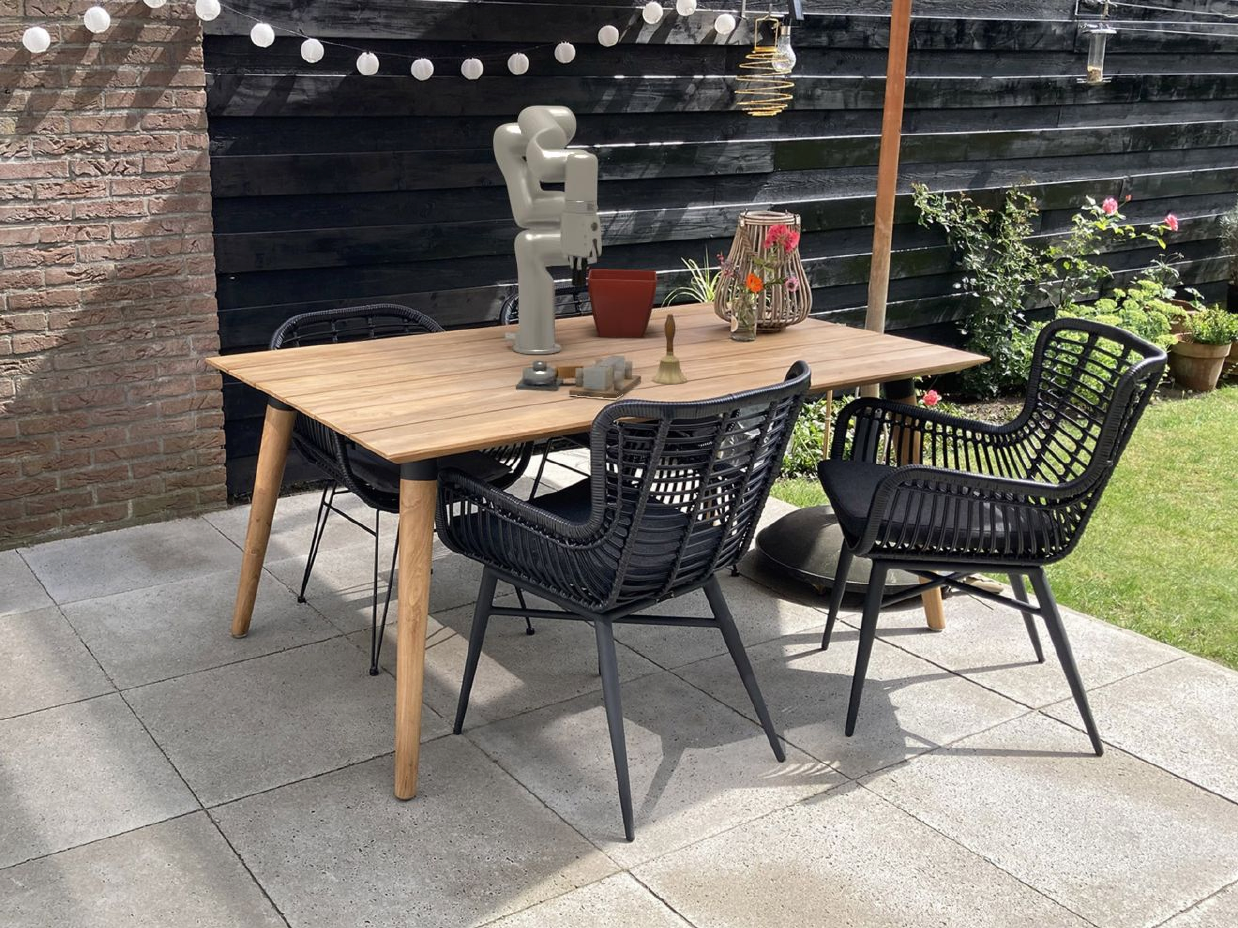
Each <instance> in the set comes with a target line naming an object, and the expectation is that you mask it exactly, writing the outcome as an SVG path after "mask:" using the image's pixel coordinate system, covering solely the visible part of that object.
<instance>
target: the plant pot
mask: <svg viewBox="0 0 1238 928" xmlns="http://www.w3.org/2000/svg"><path fill="white" fill-rule="evenodd" d="M657 284H658V278H657V271H656V270H638V269H637V270H635V269H632V270H631V269H601V268H600V269H599V268H598V269H596V268H595V269H589V273H588V277H587V289H588V290H587V291H588V294H589V295H588V296H589V303H590V307H591V314H592V319H593V322H594V326H595V329H596V332H597V335H598V337H599V338H631V339H632V338H634V339H636V338H637V339H638V338H640V339H641V338H644V337H645V335H646V332H647V329H648V326H649V322H650V319H651V315H652V312H653V307H654V302H655V297H656V293H657Z"/></svg>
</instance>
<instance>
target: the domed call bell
mask: <svg viewBox="0 0 1238 928" xmlns="http://www.w3.org/2000/svg"><path fill="white" fill-rule="evenodd" d="M576 368H583V369H584V365H583V364H582V363H579V362H578V363H555V367H552V366H548V363H547V361H545V360H536V361H535V360H534V361H532V366H528V367H524V368H523V369H522V378H523V382H525V383H530V384H550V383H555V382H556V381H557V378H558V379H563V380H564V379H576Z"/></svg>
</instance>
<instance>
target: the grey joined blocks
mask: <svg viewBox="0 0 1238 928" xmlns="http://www.w3.org/2000/svg"><path fill="white" fill-rule="evenodd" d="M625 359H626V356H625V355H617V354H616V355H614V354H612V355H610V356H608V357H607V358H605V359H603V361H602V362H600V363H599V364H597V365H594V364H592V365H590V366H588V367H586V368H585V369H584V375H583V381H584V389H585V390H596V391H606V390H608V389H609V388H610V387H612V386H613V382H614V372H615V371H621V372H622V376H623V375H624V374H625Z"/></svg>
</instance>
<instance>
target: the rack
mask: <svg viewBox="0 0 1238 928" xmlns="http://www.w3.org/2000/svg"><path fill="white" fill-rule="evenodd" d="M603 360H604V358H596V359H595V365H597V364H599V363H600V362H602V361H603ZM584 370H585V369H584V367H583V368H576V378H575V383H576V384H575V385H574V386H573V387H572V388H570V389H569V391H568V396H569V395H577V396H589V397H603V398H617V397H619V396H621V395H622V394H624V393H625V394H626V393H628V392H629V391H631V390H632V389H633V388H634V386H635V387H636V386H637V385H639V384H640V383H641V381H642V377H641V375H637V374H635V375H634V374H633V361H631V360H626V361H625V372H624V375H623V376H622V372H621V371H615V372H614V382H613V386H612V387H610V388H609V389H608V390H606V391H596V390H585V389H584ZM639 382H640V383H639ZM638 383H639V384H638ZM630 389H631V390H630ZM625 394H624V395H625ZM621 397H622V396H621ZM612 401H614V400H612Z"/></svg>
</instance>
